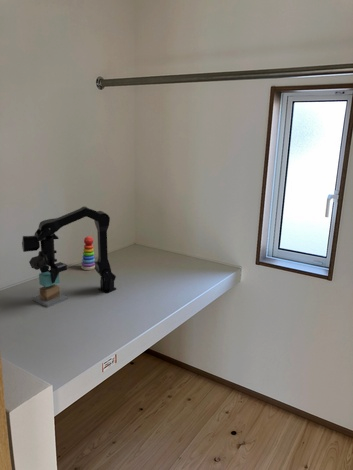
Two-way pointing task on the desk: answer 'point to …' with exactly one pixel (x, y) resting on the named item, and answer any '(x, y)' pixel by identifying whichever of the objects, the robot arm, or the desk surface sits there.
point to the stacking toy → (88, 254)
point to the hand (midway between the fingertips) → (49, 281)
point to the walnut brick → (49, 292)
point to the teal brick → (47, 279)
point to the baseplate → (50, 302)
